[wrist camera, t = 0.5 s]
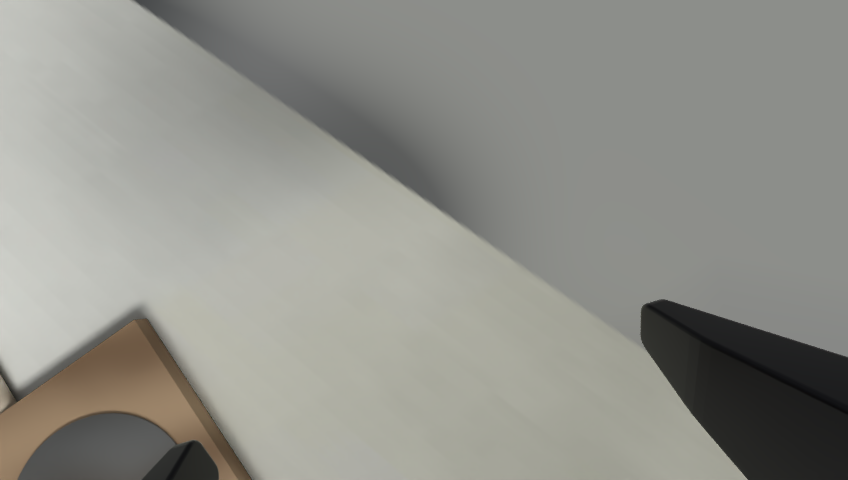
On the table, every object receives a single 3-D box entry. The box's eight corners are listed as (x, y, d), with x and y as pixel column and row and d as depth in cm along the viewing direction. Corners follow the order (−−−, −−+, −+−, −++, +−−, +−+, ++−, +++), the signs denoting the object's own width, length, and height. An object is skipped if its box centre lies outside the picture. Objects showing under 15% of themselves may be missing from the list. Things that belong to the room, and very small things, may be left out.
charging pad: (289, 538, 21) (282, 551, 20) (85, 701, 20) (65, 726, 19) (87, 227, 23) (70, 224, 22) (-108, 358, 22) (-137, 362, 21)
